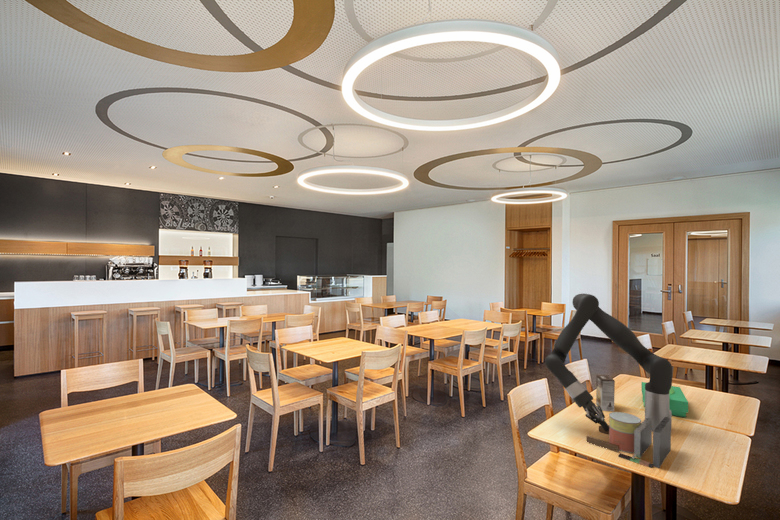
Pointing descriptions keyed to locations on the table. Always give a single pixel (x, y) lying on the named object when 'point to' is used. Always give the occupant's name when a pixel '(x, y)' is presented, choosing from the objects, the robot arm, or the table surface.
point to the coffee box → (605, 392)
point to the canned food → (623, 430)
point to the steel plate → (642, 438)
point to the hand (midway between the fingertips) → (608, 430)
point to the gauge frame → (659, 444)
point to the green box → (673, 401)
